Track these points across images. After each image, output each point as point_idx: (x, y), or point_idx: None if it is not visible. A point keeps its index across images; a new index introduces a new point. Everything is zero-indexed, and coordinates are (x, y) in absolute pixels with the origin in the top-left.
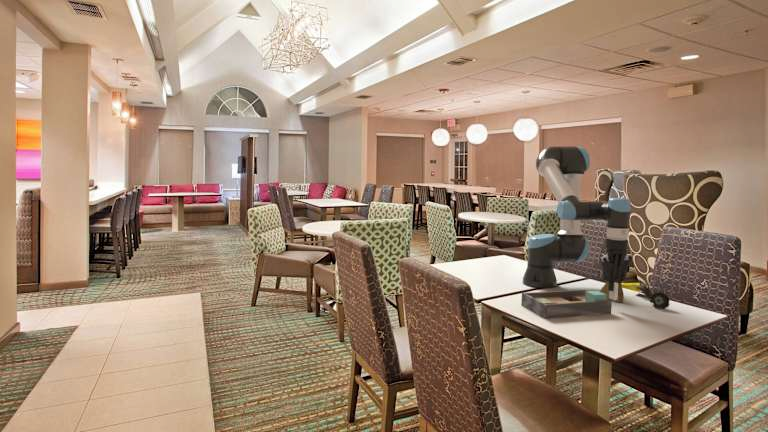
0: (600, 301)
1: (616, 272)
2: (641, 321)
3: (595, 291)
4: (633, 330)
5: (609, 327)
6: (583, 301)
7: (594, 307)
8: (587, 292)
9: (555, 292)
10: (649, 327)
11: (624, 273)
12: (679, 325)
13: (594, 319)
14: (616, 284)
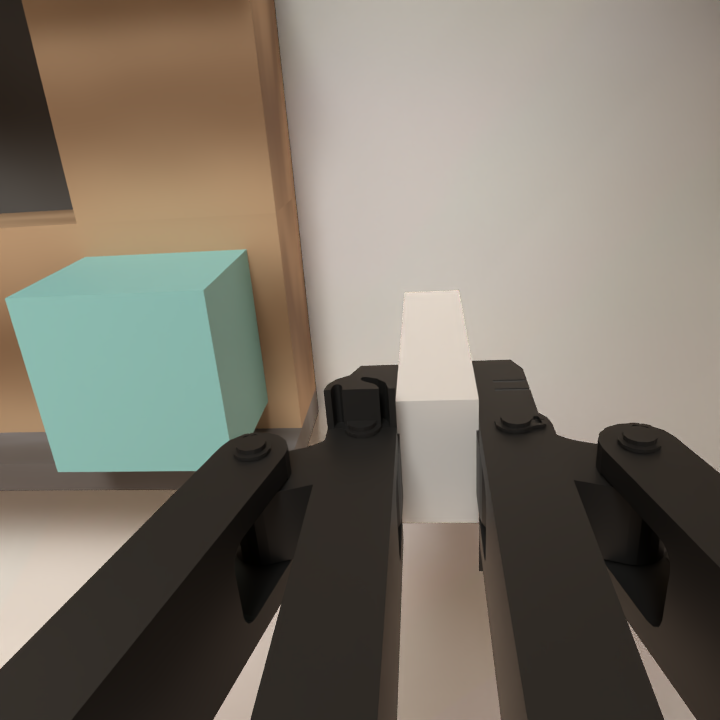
0: (142, 485)
1: (498, 633)
2: (450, 602)
3: (155, 321)
4: (250, 711)
5: None
6: (63, 249)
7: None
8: (19, 331)
9: None
10: (407, 696)
11: (692, 686)
12: (676, 709)
13: (84, 504)
14: (434, 510)
